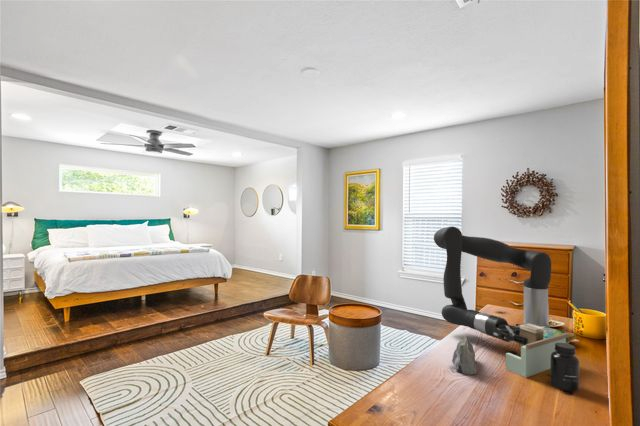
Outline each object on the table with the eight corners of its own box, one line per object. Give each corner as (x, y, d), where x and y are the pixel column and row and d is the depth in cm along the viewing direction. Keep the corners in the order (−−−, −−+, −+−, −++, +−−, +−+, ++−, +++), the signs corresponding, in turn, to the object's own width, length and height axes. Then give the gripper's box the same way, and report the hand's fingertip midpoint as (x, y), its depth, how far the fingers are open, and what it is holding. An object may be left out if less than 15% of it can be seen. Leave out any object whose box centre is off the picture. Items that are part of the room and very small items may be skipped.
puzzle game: (514, 331, 131) (543, 324, 140) (514, 344, 131) (543, 335, 140) (546, 342, 120) (575, 333, 130) (546, 355, 120) (575, 345, 130)
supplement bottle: (571, 394, 94) (571, 351, 94) (545, 383, 100) (545, 343, 100) (584, 389, 97) (584, 347, 97) (558, 378, 103) (558, 339, 103)
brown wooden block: (528, 358, 116) (528, 323, 116) (543, 364, 112) (543, 328, 112) (519, 361, 114) (519, 325, 114) (535, 367, 110) (535, 330, 109)
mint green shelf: (540, 354, 121) (541, 325, 121) (568, 364, 113) (568, 333, 113) (501, 366, 111) (501, 335, 111) (528, 378, 103) (528, 345, 103)
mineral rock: (464, 356, 119) (465, 327, 119) (494, 368, 110) (494, 337, 110) (440, 364, 112) (440, 334, 112) (470, 378, 103) (470, 345, 103)
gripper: (477, 317, 123) (521, 331, 109) (502, 312, 130) (547, 325, 115) (477, 338, 123) (521, 355, 109) (502, 332, 130) (547, 347, 115)
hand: (534, 339), depth 112 cm, fingers open, 8 cm apart
